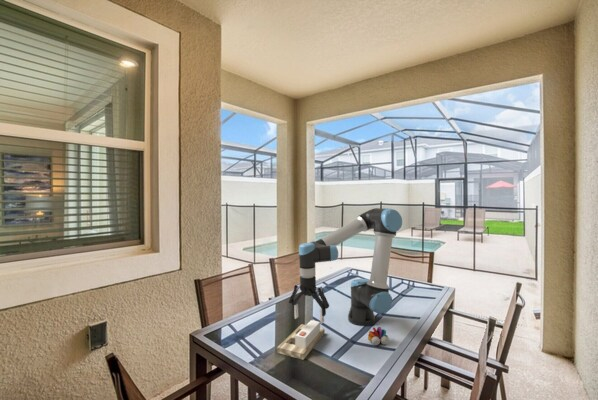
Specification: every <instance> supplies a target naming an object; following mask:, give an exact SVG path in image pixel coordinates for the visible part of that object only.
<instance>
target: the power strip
mask: <svg viewBox="0 0 598 400" xmlns="http://www.w3.org/2000/svg"><path fill="white" fill-rule="evenodd" d="M305 325H306V326H304V327H303V328H302V329H301V330H300V331H299V332H298V333H297V334H296V335H295V347H299V348H303V349H306V348H307V347H308V345H309V344H310V343H311V342H312V341H313V340H314V338H315V337H316V336H317V335H318V334H319V333H320V328H321V321H318V320H312V319H310V321H309V322H308V323H307V324H305Z"/></svg>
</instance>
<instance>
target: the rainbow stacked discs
mask: <svg viewBox="0 0 598 400" xmlns="http://www.w3.org/2000/svg"><path fill="white" fill-rule="evenodd" d="M367 340H368V341H369V342H371V343H372V345H374V346H378V345H380V343H381V344H382V345H383V346H386V345H388V344H389V340H390V339H389V336H388V335H387V330H386V329H384V328H383V329H382V327H381V326H378V327H377V328H376V327H374V326H373V327H372V330H369V331H368V333H367Z"/></svg>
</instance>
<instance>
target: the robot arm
mask: <svg viewBox="0 0 598 400" xmlns="http://www.w3.org/2000/svg"><path fill="white" fill-rule="evenodd" d="M402 225H403V218H402V215H401V214H400V212H398V210H396V209H393V208H378V207H377V208H372V209H369V210H367V211H365V212H363V213H361V214H359V215H357V216H355V219H354V220H352V221H350V222H349V223H347V224H345V225H342V226H341V227H339V228H338V229H335V230H334V231H332V232H330V233H329V234H327V235H325V236H323V237H321V238H319V239H317V240H316V241H309V242H305V243H300V245H299V246H298V247H299V248H298V257H299V284H300V285H299V284H298V283H296V284H295V285H294V287H293V291H292V293H291V295H290V298H289V301H288V303H289V304H291V305H292V311H293V312H294V313H293V314H294V320H296V319H298V318H299V303H297V302H299V300H300V299H301V298H302V297H303V296H306V297H312V298H313V299H314V300H315V302H316V303H317V304H318V305H319V307H320V310H319V313H320V318H319V319H320V325H323V323H324V322H325V317H326V315H327V314H326V313H327V310H326V309H329V308H330V303H329V302H328V299H327V298H326V295H325V294H324V290H323V286H318V287H317V282H316V279H317V277H316V264H317V263H326V262H332V261H337V259H338V258H339V250H338V247H337V246H339V245H340V244H342V243H344V242H346V241H347V240H349V239H351V238H353V237H354V236H356V235H359V234H360V233H361V232H367V231H369V230H373V234H374V235H375V239H374V240H375V241H374V246H373V255H372V262H371V270H370V277H369V278H368V279H367V278H358V279H357V278H356V279H352V281H350V308H349V311H348V315H347V320H348V322H349V323H351V324H353V325H355V326H360V327H362V326H363V327H365V326H372V325H374V324H375V323H376V315H375V313H376V314H381V315H382V314H385V313H386V312H387V311H389V310H390V309H391V307H392V304H393V297H392V295H391V294H390V293H389V292H390V286H389V285H388V284H387V282H388V275H389V270H390V269H389V268H390V261H391V253H392V243H393V238H394V237H396V236H397V232H398V231H400V229H401V228H402ZM299 290H300V291H301V292H299V294H298V295H297V293H298V291H299Z"/></svg>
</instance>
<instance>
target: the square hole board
mask: <svg viewBox="0 0 598 400" xmlns="http://www.w3.org/2000/svg"><path fill="white" fill-rule="evenodd" d="M306 325H307V324H303V323H302V324H300V325H299V326H298V327H297V328H296V329H295V330H293V332H292V333H290V335H288V336H287V338H285V339H284V340H283V341H282V342H281V343H280V344H279V345H278V346H276V353H277V354H281V355H284V356H287V357H291V358H296V359H299V360H305V359H306V357H307V356H308V355H309V353H310V352H311V351H312V350H313V349H314V348H315V346H317V344H318V342H319V341H320V340H321V339H322V338H323V337H324V335H325V332H326V331H325V328H323V327H320V333H319V334H318V335H317V336H316V337H315V338H314V340H313V341H312V342H311V343H310V344H309V345H308V347H307V348H306V349H303V348H299V347H295V335H296V334H297V333H298V332H299V331H300V330H301V329H302V328H303V327H304V326H306Z"/></svg>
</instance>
